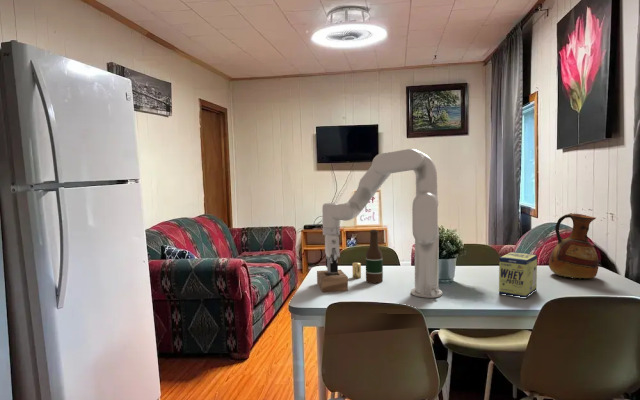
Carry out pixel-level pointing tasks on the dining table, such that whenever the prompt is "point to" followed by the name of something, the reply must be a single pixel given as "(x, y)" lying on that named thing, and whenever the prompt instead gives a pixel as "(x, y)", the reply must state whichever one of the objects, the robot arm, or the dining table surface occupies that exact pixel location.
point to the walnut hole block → (332, 281)
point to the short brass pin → (356, 270)
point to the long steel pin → (329, 267)
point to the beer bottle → (374, 260)
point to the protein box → (517, 274)
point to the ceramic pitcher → (574, 250)
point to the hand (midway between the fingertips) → (331, 269)
